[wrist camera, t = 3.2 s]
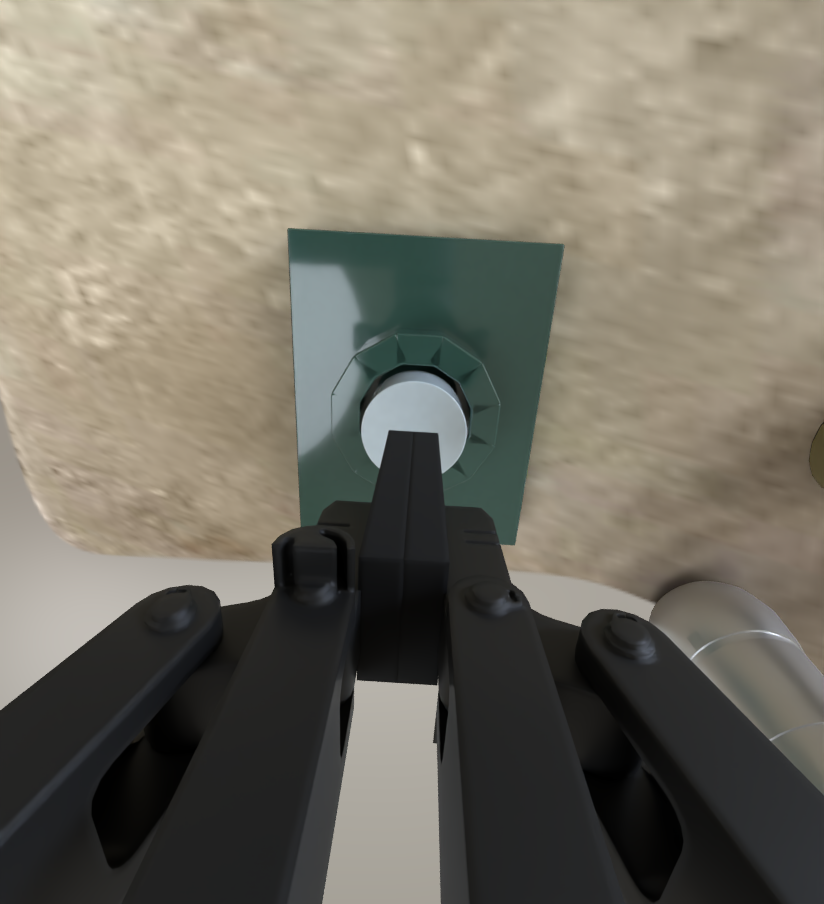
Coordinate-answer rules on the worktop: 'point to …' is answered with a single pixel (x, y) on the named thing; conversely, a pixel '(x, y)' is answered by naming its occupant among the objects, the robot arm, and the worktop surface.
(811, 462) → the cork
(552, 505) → the worktop surface
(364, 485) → the green button base
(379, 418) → the white push button
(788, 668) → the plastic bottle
